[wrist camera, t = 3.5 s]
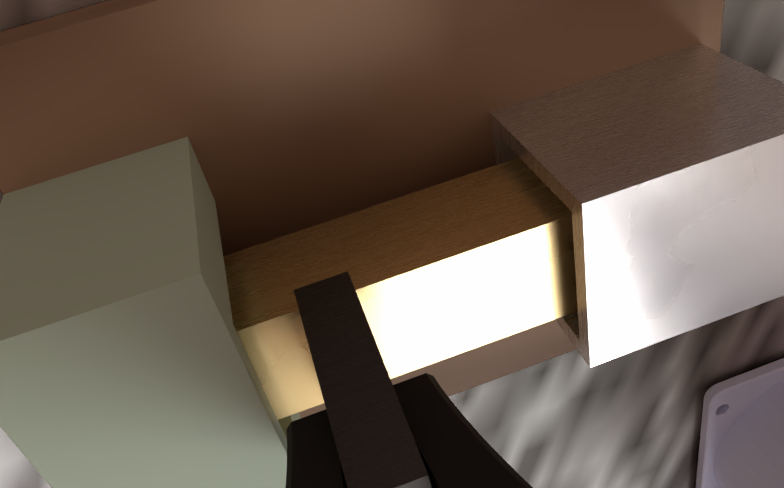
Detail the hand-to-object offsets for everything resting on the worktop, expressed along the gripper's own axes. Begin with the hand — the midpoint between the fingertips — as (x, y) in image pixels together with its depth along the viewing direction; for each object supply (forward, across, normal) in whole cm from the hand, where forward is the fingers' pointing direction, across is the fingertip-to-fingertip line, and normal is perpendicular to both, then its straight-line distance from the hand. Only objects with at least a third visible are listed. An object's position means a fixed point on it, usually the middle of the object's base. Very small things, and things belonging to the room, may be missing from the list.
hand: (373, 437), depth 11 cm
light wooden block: (+5, -1, 0) cm, 5 cm away
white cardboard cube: (+5, -7, 0) cm, 9 cm away
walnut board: (+6, -2, 0) cm, 7 cm away
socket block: (+5, +3, 0) cm, 6 cm away
